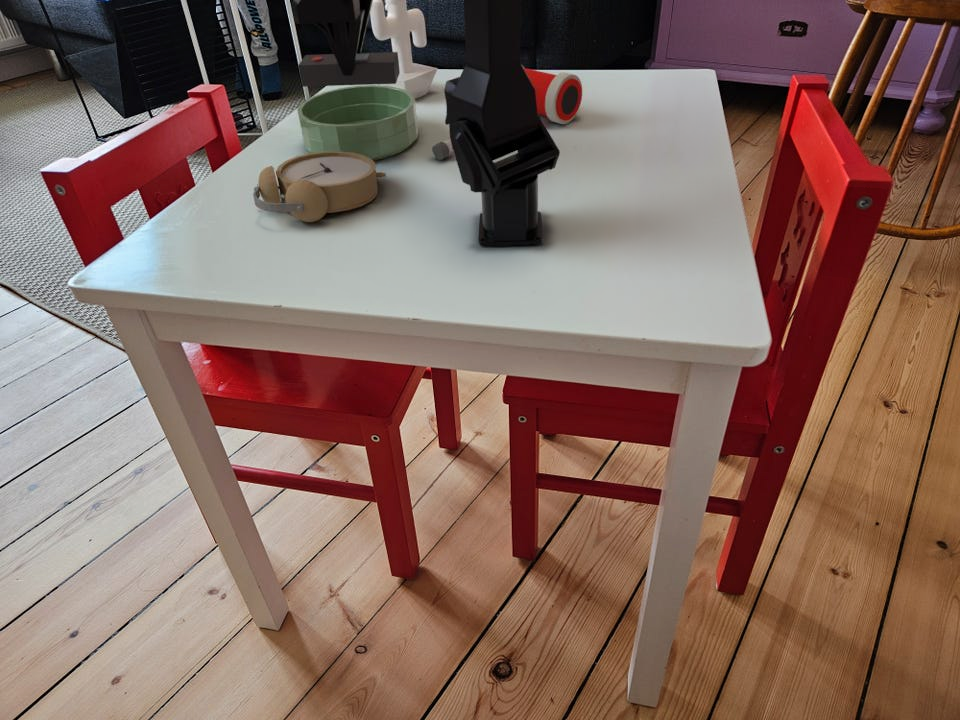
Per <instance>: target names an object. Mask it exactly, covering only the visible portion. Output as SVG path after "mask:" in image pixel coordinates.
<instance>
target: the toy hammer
mask: <svg viewBox="0 0 960 720" xmlns="http://www.w3.org/2000/svg"><path fill="white" fill-rule="evenodd" d="M522 66H523V68H524V70H525V72H526V73H527V75H528V77H529V79H530V81H531V82H532V84H533V86H534V88H535V92H536V103H537V113H538V115H542V116H545V117H547V119H548V120H549V121H550V122H553V123H556V124H560V125H566V124H570V122H571V121H572V120H573V119H574V118H575V117H576V115H577V114H578V112H579V110H580V107H581V105H582V104H581V103H582V99H583V85H582V81H581V79H580V77H579V76H577V75H576V74H572V73H568V72H560V73H558V74H554V73H549V72H544V71H539V70H535V69H531V68H526V67H525V66H524V65H523V64H522ZM431 150H432V151H431V152H432V155H433V156H434V158H435V159H437V160H438V161H442V160H444V159H445V158H447V157H448V156H450V152H452V151H453V147H452V144H451V140H450V138H449V139H447V140H446V141H439V142H437V143H436V144H434V145H433V146H432V148H431Z"/></svg>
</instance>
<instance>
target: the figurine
mask: <svg viewBox="0 0 960 720" xmlns="http://www.w3.org/2000/svg"><path fill="white" fill-rule="evenodd" d="M384 3H385V5H384ZM407 5H408V4H407V0H384V1H383V0H373V2H372V6H371V11H370V15H369V18H370V22H371V30H372V33H373V35H374V37H375V39H376V40H378V41H386V40H389V39H390V41H391V49H392V52H397V53H398V61H399V70H400V73H399V76H398V79H397V82H396V84H377V85H379V86H391V87H395V88H400V89H403V90H405V91H407V92H409V93H411V94H412V95H413V97H414V98H415V100H416V99H418V98H420V97H423V96H426V95H427V94H428V92H429V90H430V87H431V85H432V83H433V80H434V79H435V77H436V74H437V71H438V69H439V68H438V67H433V66H430V65H424V64H421V63H420V64H419V63H416V62H413V53H412V44H411V36H412V42H413V45H414V47H416V48H425V47H426V46H427V41H428V40H427V32H426V31H427V30H426V20H425V16H424V13H423V11H421V9H419V8H411V9H408V8H407ZM385 11H387V13H386V14H385ZM410 34H411V35H410Z"/></svg>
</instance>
